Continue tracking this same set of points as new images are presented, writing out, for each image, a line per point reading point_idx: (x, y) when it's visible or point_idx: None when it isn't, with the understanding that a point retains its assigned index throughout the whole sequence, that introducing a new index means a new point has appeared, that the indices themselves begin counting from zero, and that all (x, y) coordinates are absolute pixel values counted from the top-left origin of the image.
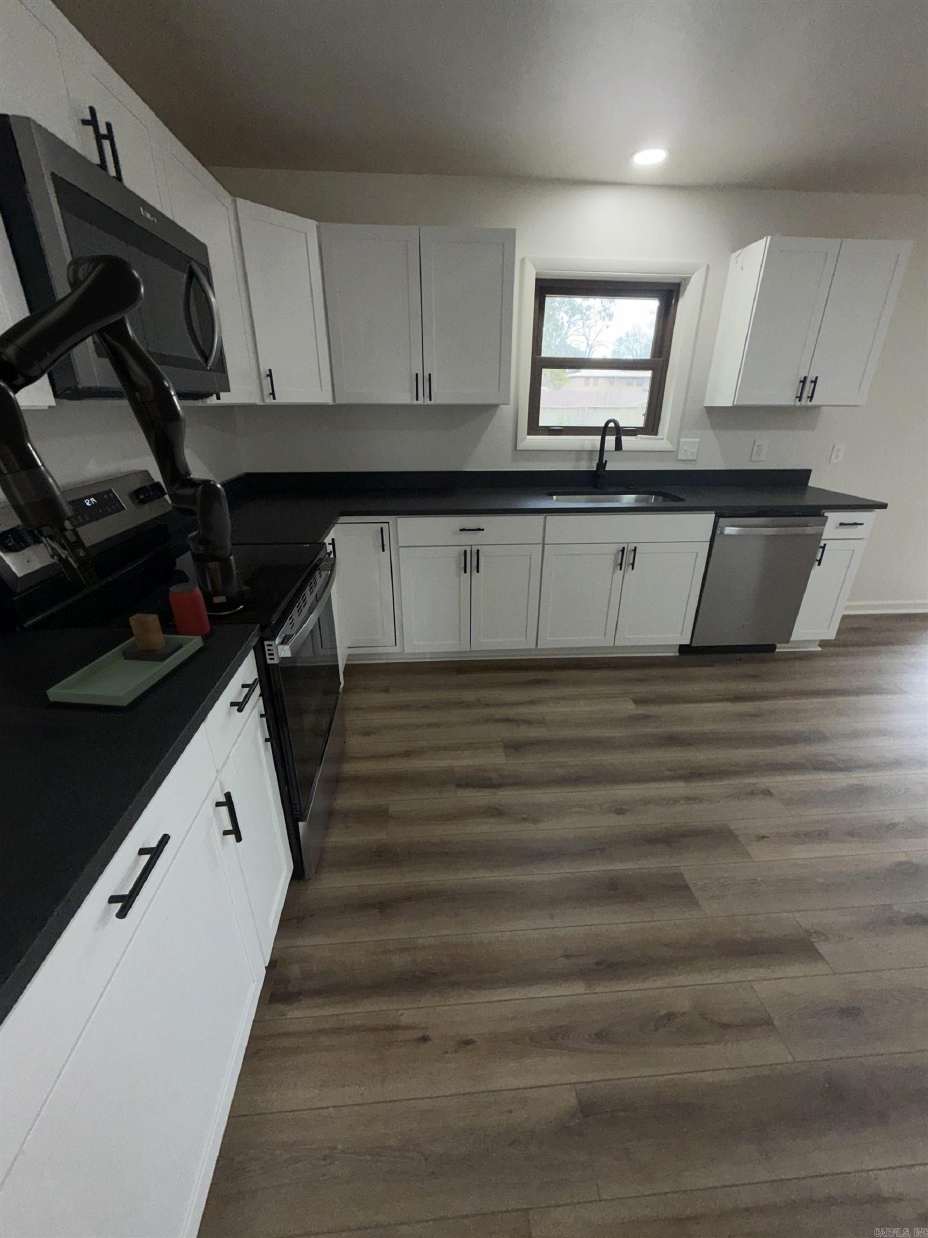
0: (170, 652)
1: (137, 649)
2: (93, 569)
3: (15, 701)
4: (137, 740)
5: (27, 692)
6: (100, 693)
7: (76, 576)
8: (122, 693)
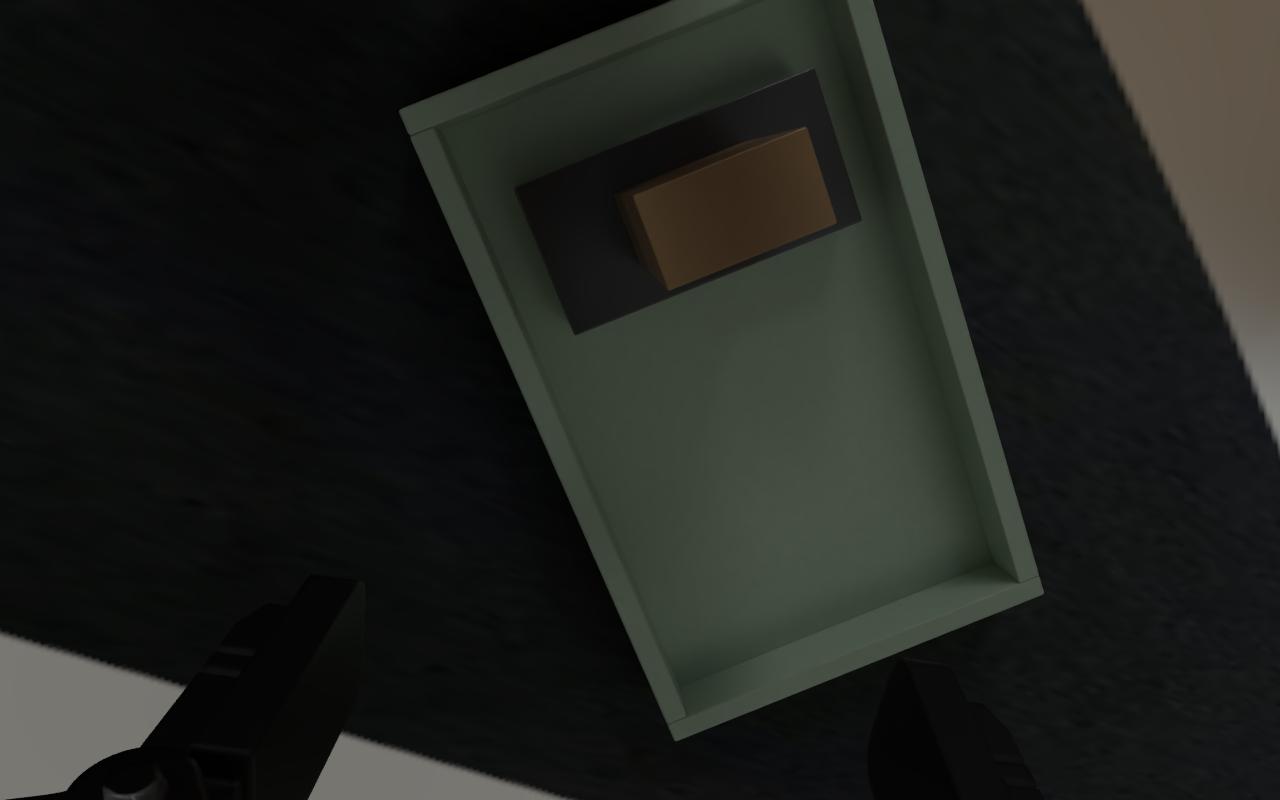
0: (850, 187)
1: (642, 272)
2: (1003, 780)
3: (481, 758)
4: (1220, 642)
5: (437, 704)
6: (931, 630)
7: (351, 651)
8: (1027, 580)
